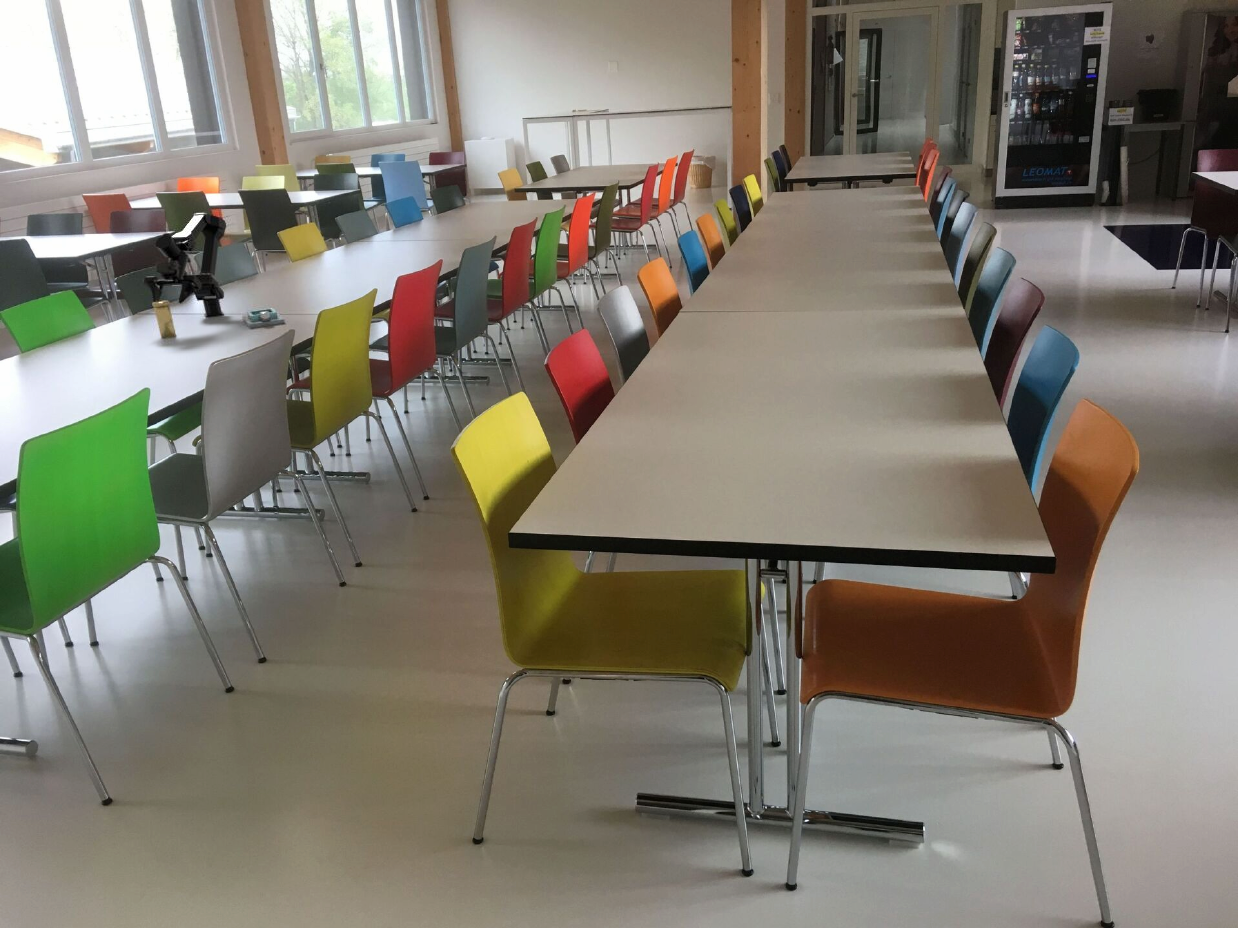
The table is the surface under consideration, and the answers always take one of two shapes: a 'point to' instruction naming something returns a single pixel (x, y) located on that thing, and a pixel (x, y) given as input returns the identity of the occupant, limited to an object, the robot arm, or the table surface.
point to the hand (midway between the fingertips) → (167, 303)
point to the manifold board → (261, 324)
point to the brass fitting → (164, 319)
